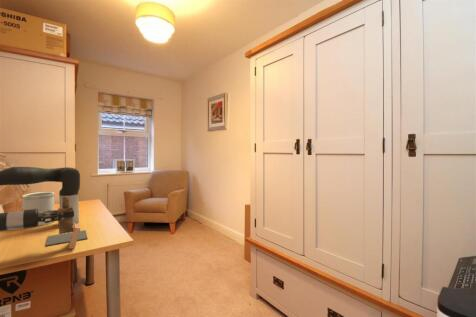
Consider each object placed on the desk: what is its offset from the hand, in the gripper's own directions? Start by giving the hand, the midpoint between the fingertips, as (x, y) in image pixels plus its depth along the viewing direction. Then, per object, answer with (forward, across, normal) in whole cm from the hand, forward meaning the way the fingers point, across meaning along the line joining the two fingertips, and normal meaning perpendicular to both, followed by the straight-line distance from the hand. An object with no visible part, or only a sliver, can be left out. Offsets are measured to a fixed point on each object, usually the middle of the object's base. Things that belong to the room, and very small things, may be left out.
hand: (73, 213), depth 109 cm
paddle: (-3, 0, +8) cm, 9 cm away
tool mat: (-2, +13, +15) cm, 20 cm away
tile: (0, 0, +10) cm, 10 cm away
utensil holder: (-16, +52, +15) cm, 57 cm away
